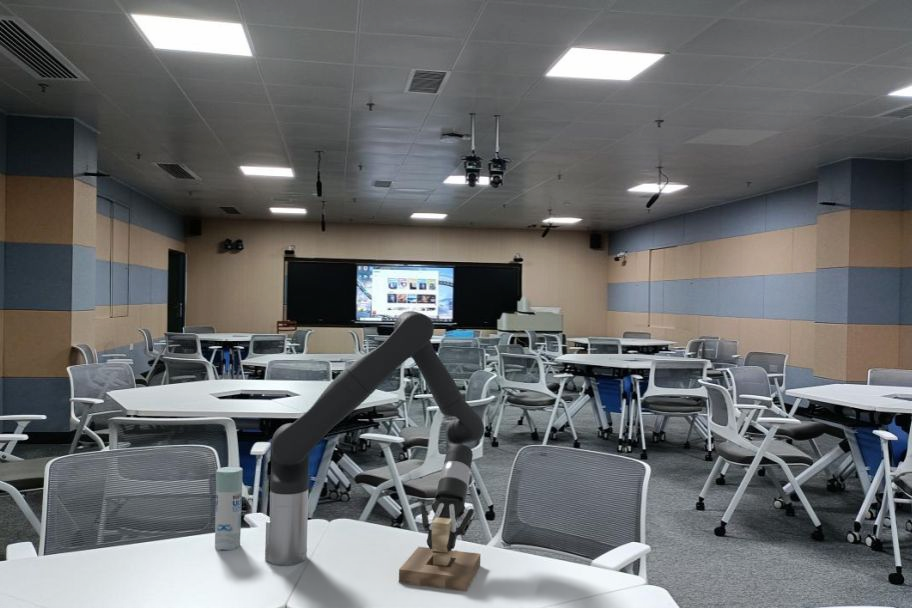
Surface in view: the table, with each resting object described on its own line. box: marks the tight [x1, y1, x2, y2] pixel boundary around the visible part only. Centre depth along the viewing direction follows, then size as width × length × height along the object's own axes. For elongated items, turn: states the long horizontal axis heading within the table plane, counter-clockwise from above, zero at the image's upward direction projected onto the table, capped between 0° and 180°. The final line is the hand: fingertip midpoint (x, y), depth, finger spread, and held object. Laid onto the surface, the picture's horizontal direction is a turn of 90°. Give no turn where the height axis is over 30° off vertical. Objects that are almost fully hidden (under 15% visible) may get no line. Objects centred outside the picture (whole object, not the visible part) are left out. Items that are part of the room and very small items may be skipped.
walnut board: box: [398, 546, 482, 592], centre depth 153 cm, size 16×15×3 cm
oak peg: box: [431, 517, 452, 566], centre depth 153 cm, size 4×4×10 cm
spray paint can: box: [214, 466, 244, 551], centre depth 168 cm, size 6×6×20 cm
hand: (439, 548), depth 152 cm, fingers closed on oak peg, 4 cm apart
